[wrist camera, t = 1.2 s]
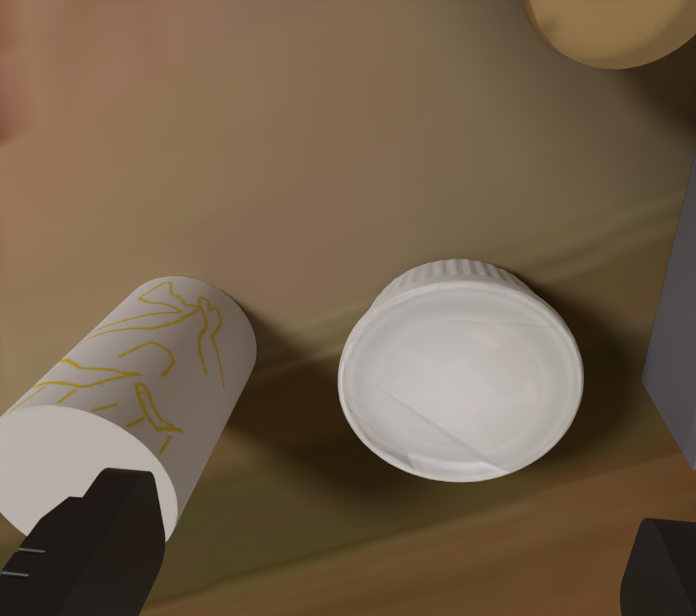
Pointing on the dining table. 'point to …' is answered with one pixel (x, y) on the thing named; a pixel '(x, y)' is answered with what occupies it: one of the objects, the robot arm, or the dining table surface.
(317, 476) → the dining table surface
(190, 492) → the cup
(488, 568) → the dining table surface
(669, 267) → the housing
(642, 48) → the disc
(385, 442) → the ramekin
